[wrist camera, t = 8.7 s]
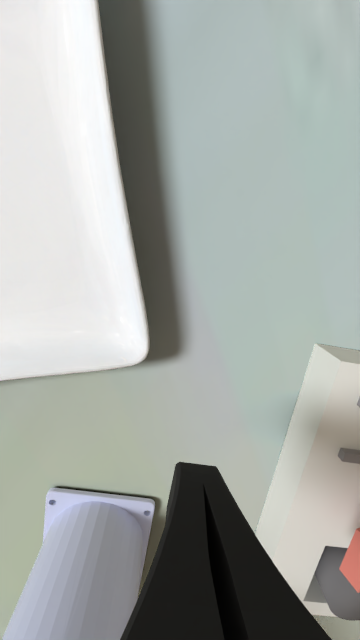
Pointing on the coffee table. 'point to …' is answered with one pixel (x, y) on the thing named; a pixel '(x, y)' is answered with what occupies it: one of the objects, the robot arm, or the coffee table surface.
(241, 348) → the coffee table surface
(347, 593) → the button
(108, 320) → the salad plate
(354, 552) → the plate
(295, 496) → the panel
